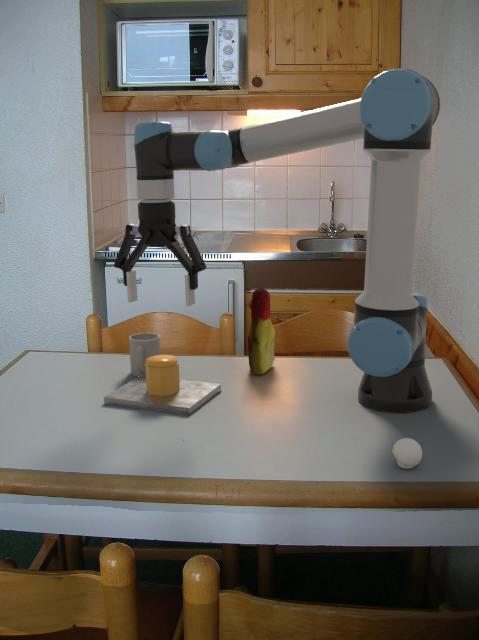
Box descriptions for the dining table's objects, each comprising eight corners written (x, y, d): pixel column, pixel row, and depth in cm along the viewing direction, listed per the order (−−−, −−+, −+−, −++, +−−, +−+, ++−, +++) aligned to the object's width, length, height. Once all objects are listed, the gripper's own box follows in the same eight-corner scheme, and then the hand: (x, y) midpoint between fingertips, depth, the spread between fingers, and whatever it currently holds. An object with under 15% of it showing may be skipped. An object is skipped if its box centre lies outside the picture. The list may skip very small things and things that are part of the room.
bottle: (269, 378, 171) (268, 293, 167) (242, 377, 173) (240, 292, 168) (278, 363, 183) (277, 283, 178) (253, 362, 184) (251, 283, 179)
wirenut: (183, 387, 161) (182, 356, 160) (169, 396, 155) (168, 364, 154) (156, 384, 164) (155, 353, 162) (142, 393, 158) (140, 361, 156)
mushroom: (393, 459, 126) (394, 432, 125) (422, 462, 125) (423, 434, 124) (390, 471, 122) (391, 443, 121) (420, 475, 120) (422, 446, 119)
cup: (164, 368, 180) (163, 333, 178) (154, 381, 171) (152, 344, 169) (135, 367, 181) (133, 332, 179) (123, 380, 172) (121, 343, 170)
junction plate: (221, 390, 163) (220, 366, 162) (189, 414, 149) (188, 388, 148) (141, 381, 171) (140, 358, 170) (104, 403, 156) (102, 378, 155)
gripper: (220, 199, 149) (222, 302, 154) (112, 198, 158) (118, 296, 163) (204, 202, 142) (208, 310, 147) (93, 201, 151) (100, 303, 156)
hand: (161, 303), depth 155 cm, fingers open, 13 cm apart
